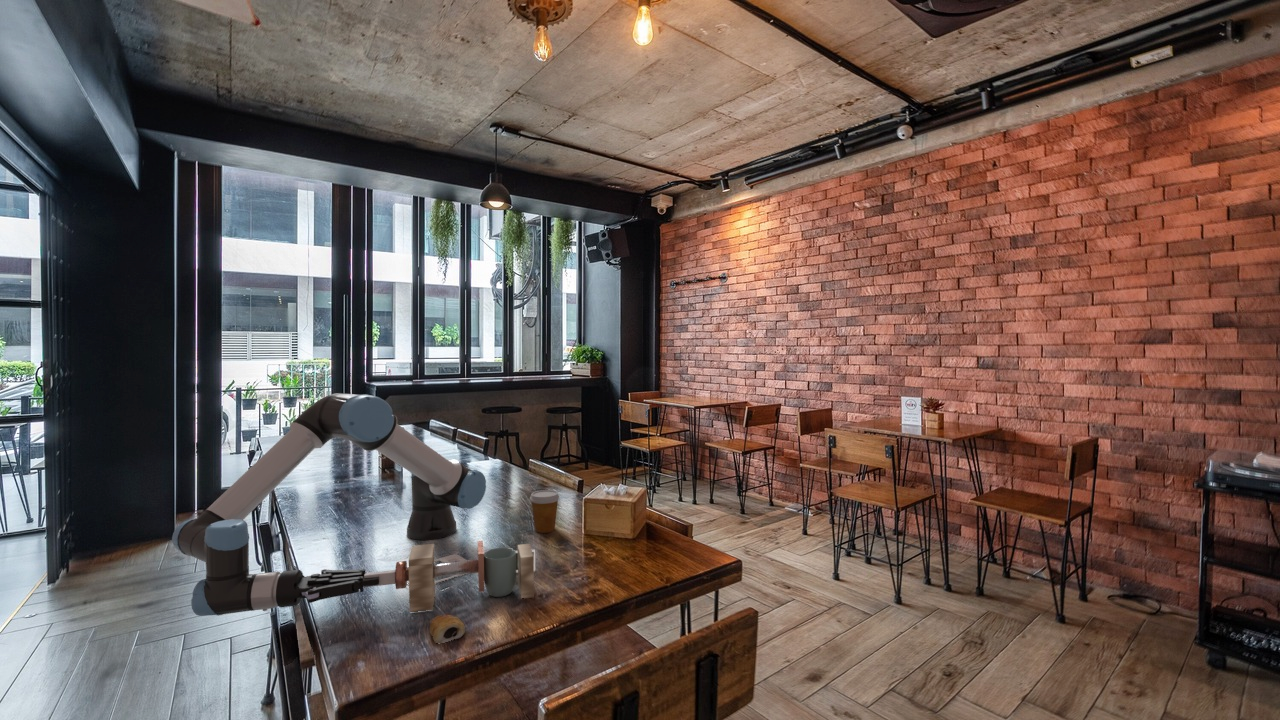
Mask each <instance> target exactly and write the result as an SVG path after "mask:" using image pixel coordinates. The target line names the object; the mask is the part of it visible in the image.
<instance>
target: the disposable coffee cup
mask: <svg viewBox="0 0 1280 720" xmlns="http://www.w3.org/2000/svg"><path fill="white" fill-rule="evenodd" d="M559 499H560V495H559V493H558V491H556V490H552V489H543V490H537V491H533V492H532V493H531V495H530V497H529V500H530V502H531V508H532V515H533V523H534V530H535V532H537V533H540V534H541V533H543V534H545V533H546V534H547V533H551V532H554V531H555V529H556V520H557V519H556V518H557V510H558V501H559Z"/></svg>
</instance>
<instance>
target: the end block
mask: <svg viewBox="0 0 1280 720" xmlns="http://www.w3.org/2000/svg"><path fill="white" fill-rule="evenodd" d="M532 550H533V549H532V547H531V544H530V543H524V544H523V543H522V544H517V551H518V573H517V586H518V589H519V590H518V591H519V594H520V599H521V600H522V598H524V599H529V598H534V597H535V579H534V578H535V574H534V573H535V572H534V556H533V553H532Z"/></svg>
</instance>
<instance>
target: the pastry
mask: <svg viewBox="0 0 1280 720" xmlns="http://www.w3.org/2000/svg"><path fill="white" fill-rule="evenodd" d="M465 632H466V627H465V624H464V622H462V620H461V619H459V617H458V616H453V615H452V614H442V615H440V614H439V615H437V616H435V617H434V618H433V619H432V620H431V622H430V626H429V634H430V635H431V636H433V637H432V640H433V641H434V643H435V644H436V643H445V642H448V641H450V642H452V641H455V640H458V639H460V638H461V637H463V635H465ZM454 639H455V640H454ZM451 640H452V641H451ZM448 643H449V642H448ZM445 644H446V643H445Z"/></svg>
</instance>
